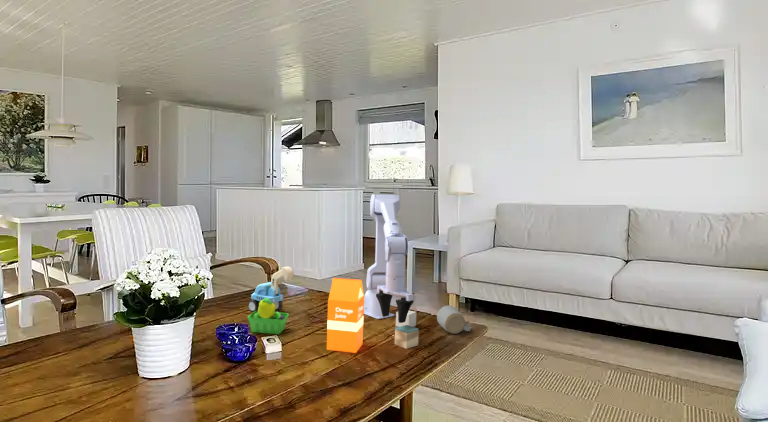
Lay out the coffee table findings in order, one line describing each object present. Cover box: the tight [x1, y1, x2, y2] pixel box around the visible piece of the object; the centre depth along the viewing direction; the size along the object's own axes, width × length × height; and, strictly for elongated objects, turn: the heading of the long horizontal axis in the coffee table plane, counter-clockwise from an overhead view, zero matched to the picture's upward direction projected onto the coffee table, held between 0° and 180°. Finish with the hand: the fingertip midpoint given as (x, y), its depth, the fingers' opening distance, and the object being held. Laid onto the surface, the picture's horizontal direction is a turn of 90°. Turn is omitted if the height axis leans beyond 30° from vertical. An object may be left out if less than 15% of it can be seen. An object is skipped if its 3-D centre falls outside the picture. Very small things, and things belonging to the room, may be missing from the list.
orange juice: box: [326, 277, 365, 354], centre depth 136 cm, size 8×9×20 cm
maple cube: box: [394, 325, 420, 350], centre depth 140 cm, size 5×5×5 cm
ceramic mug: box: [436, 305, 472, 335], centre depth 155 cm, size 11×8×8 cm
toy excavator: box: [247, 266, 295, 312], centre depth 169 cm, size 9×17×17 cm, turn 60°
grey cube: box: [395, 309, 417, 328], centre depth 158 cm, size 5×5×5 cm
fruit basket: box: [247, 298, 290, 335], centre depth 148 cm, size 11×9×11 cm
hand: (393, 319), depth 145 cm, fingers open, 7 cm apart
